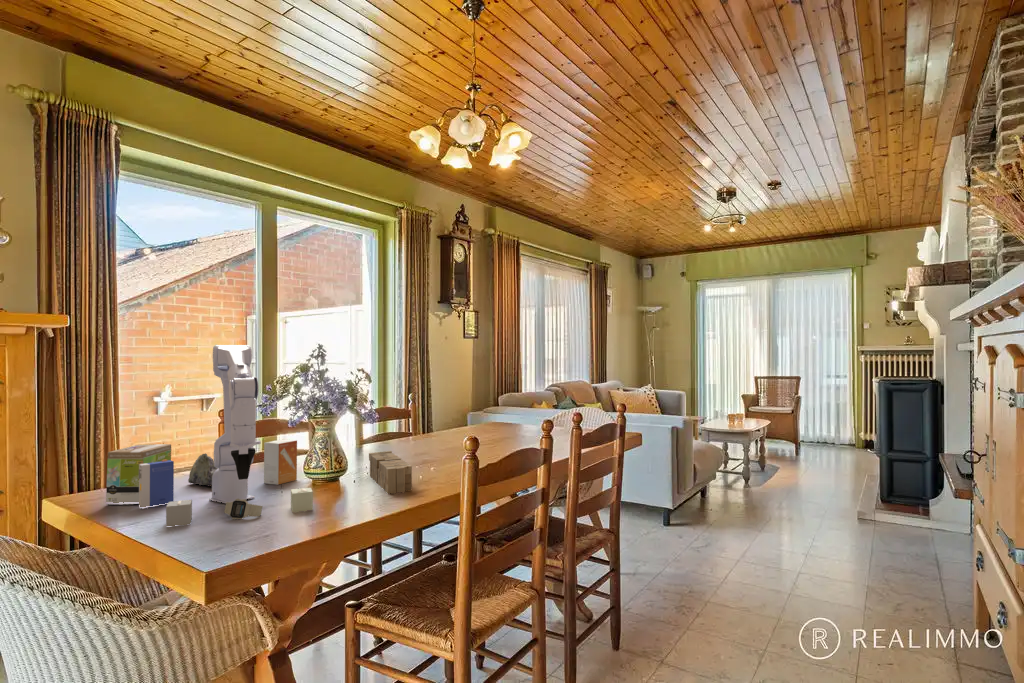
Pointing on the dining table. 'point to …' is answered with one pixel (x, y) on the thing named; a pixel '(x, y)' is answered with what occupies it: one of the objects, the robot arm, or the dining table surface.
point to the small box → (280, 461)
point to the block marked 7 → (301, 499)
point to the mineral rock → (202, 470)
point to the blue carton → (156, 483)
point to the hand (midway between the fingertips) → (243, 478)
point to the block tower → (390, 472)
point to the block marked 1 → (179, 513)
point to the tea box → (131, 469)
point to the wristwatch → (242, 509)
